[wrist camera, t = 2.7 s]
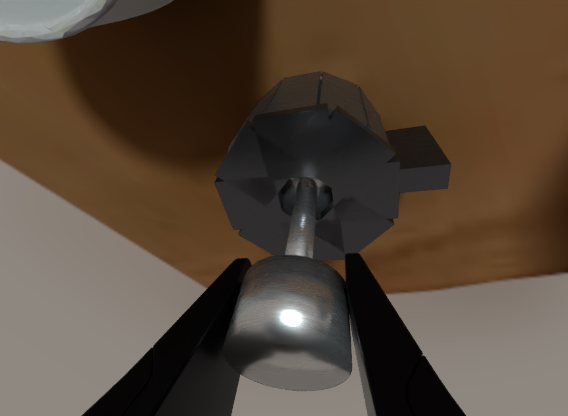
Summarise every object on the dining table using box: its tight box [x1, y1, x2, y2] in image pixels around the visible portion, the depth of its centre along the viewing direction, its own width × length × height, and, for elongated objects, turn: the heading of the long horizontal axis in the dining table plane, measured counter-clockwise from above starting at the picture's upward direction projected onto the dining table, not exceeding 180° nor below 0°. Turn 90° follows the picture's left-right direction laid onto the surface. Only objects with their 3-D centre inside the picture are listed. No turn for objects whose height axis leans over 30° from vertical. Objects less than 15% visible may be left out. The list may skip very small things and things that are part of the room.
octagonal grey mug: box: [214, 72, 451, 261], centre depth 14 cm, size 9×7×6 cm
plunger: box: [223, 176, 352, 391], centre depth 10 cm, size 5×5×8 cm
